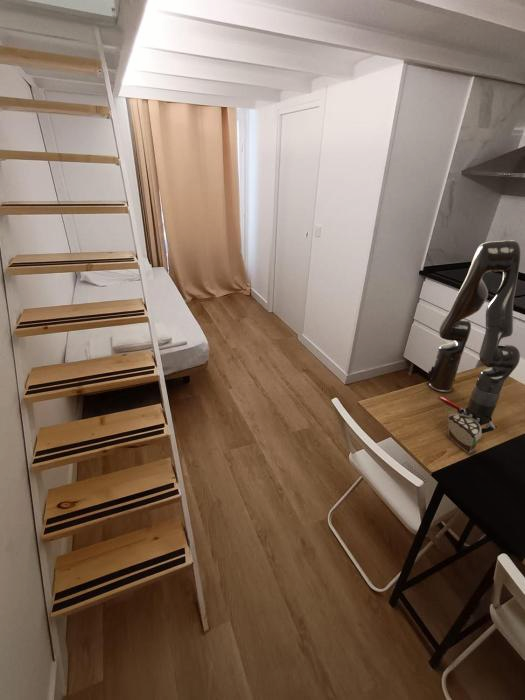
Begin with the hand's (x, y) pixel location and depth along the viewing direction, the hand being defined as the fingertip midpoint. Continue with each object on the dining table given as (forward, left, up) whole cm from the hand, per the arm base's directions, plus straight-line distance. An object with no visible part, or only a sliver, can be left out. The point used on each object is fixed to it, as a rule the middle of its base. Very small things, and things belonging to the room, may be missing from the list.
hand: (469, 437), depth 120 cm
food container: (0, -2, -1) cm, 3 cm away
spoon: (-15, +15, -2) cm, 21 cm away
